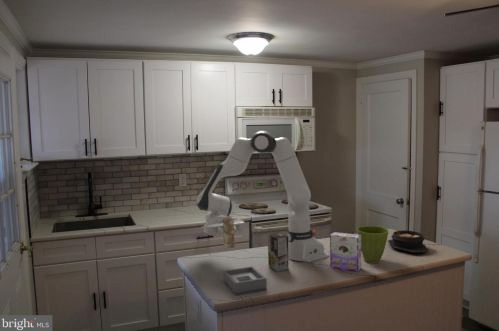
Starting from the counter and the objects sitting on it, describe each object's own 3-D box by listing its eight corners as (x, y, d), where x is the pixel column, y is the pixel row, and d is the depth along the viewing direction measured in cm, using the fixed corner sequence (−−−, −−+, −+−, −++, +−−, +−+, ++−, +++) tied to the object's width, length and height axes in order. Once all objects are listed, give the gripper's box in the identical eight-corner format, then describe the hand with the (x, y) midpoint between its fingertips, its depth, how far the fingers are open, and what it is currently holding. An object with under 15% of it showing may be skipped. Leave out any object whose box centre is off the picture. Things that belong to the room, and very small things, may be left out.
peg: (231, 245, 198) (230, 216, 197) (234, 247, 194) (233, 218, 193) (223, 246, 197) (222, 217, 195) (226, 248, 193) (225, 219, 192)
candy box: (361, 268, 196) (361, 234, 195) (358, 272, 191) (358, 237, 189) (333, 263, 203) (333, 231, 202) (329, 267, 198) (329, 234, 196)
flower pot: (374, 254, 216) (374, 224, 215) (394, 262, 203) (395, 231, 201) (351, 258, 210) (351, 227, 209) (370, 267, 197) (370, 234, 195)
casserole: (379, 244, 234) (379, 229, 233) (408, 241, 239) (408, 226, 238) (406, 257, 210) (407, 241, 209) (437, 253, 215) (438, 238, 214)
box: (252, 276, 188) (252, 266, 188) (266, 289, 173) (266, 278, 173) (223, 281, 183) (223, 270, 183) (235, 295, 168) (235, 283, 168)
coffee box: (289, 269, 197) (288, 236, 196) (278, 271, 194) (277, 238, 192) (278, 263, 205) (278, 232, 203) (267, 266, 202) (267, 234, 200)
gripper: (200, 220, 203) (207, 226, 190) (238, 216, 210) (248, 221, 197) (200, 232, 203) (208, 240, 190) (239, 228, 211) (249, 234, 198)
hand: (229, 230), depth 194 cm, fingers closed on peg, 4 cm apart
